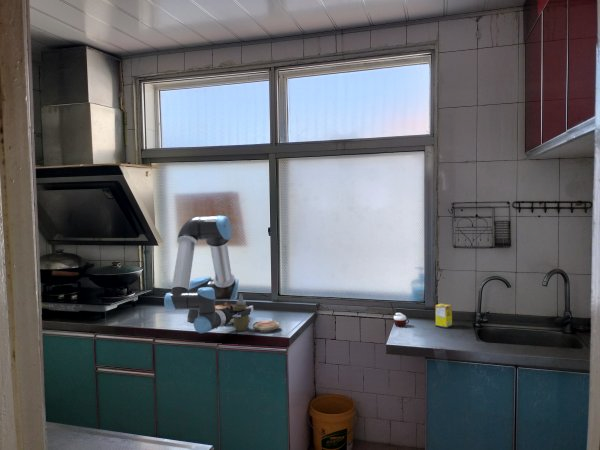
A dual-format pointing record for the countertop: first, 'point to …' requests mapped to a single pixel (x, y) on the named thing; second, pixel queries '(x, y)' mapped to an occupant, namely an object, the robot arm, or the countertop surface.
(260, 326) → the tan round disc
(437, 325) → the supplement box
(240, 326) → the squeeze bottle
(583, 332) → the countertop surface
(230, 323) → the lidded bowl
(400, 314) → the cocoa
